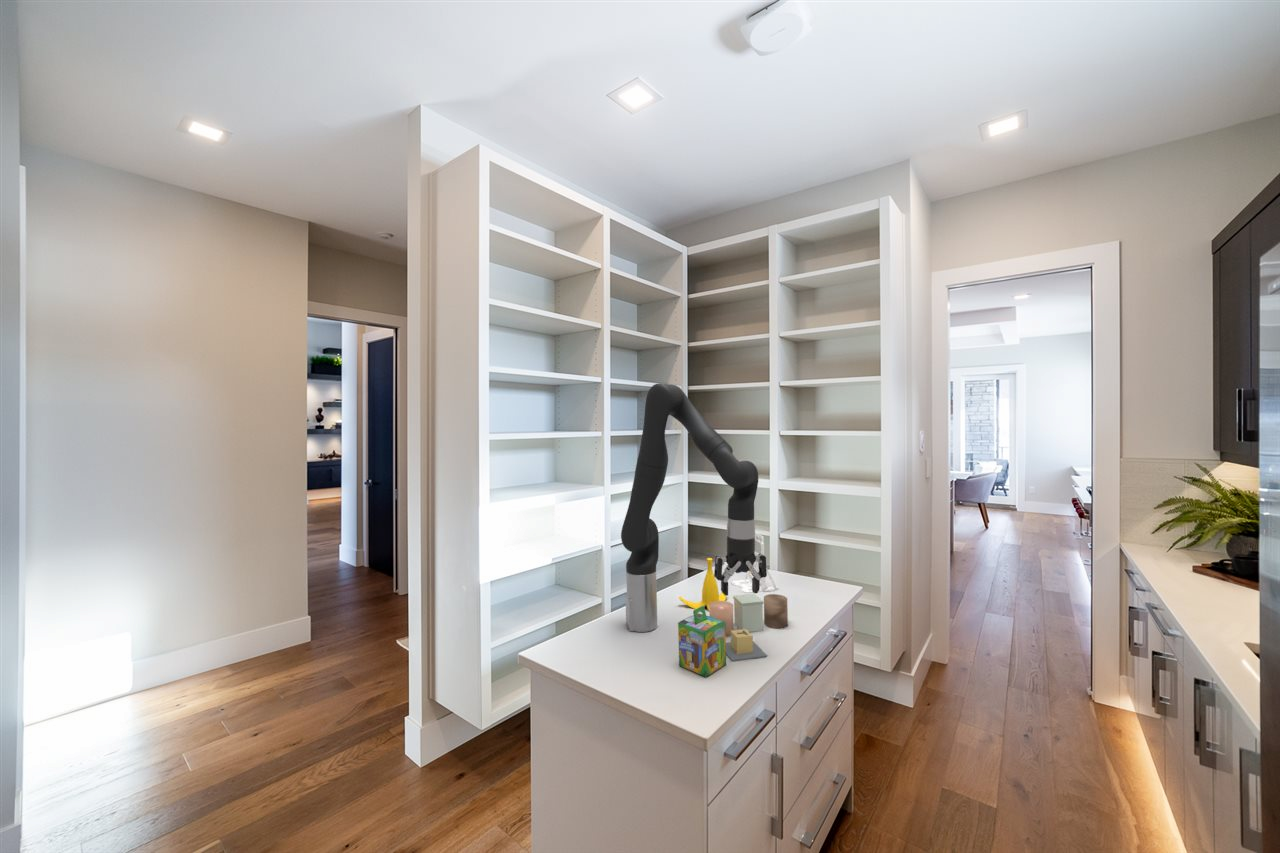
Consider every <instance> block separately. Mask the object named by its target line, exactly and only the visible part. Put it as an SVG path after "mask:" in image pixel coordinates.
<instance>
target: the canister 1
mask: <svg viewBox="0 0 1280 853" xmlns="http://www.w3.org/2000/svg"><path fill="white" fill-rule="evenodd" d="M708 612H709V615H708V616H711V617H714V618H715V619H718V620H721V621H724V622H725V628H726V638H727V637H731V631H733V630H735V629H734V603H731V602H729V601H726V600H725V601H714V602H711V603H710V604H709V611H708Z"/></svg>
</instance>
